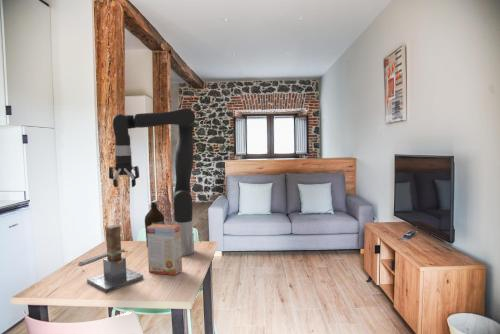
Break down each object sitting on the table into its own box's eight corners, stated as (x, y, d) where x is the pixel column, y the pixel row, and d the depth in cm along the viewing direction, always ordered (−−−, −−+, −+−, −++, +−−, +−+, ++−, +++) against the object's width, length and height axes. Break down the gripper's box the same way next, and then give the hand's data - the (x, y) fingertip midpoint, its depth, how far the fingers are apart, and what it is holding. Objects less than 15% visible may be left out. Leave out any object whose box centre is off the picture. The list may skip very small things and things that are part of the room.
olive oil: (142, 245, 176) (140, 202, 174) (160, 241, 183) (158, 200, 181) (150, 250, 168) (148, 204, 166) (168, 245, 175) (166, 202, 174)
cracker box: (182, 270, 139) (181, 224, 138) (175, 276, 133) (173, 228, 132) (156, 267, 144) (154, 223, 142) (148, 272, 138) (146, 226, 136)
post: (117, 263, 132) (115, 224, 131) (122, 266, 130) (120, 226, 129) (107, 266, 129) (105, 226, 128) (112, 269, 127) (110, 228, 126)
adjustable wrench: (80, 267, 147) (80, 263, 147) (73, 264, 151) (72, 261, 150) (125, 251, 168) (125, 248, 168) (118, 249, 172) (118, 246, 172)
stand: (123, 269, 141) (122, 249, 141) (143, 278, 131) (142, 256, 131) (87, 282, 129) (85, 260, 128) (106, 293, 119) (104, 268, 118)
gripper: (105, 155, 151) (107, 188, 152) (135, 154, 151) (136, 187, 152) (112, 154, 158) (113, 186, 159) (140, 154, 158) (141, 185, 159)
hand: (124, 187), depth 155 cm, fingers open, 8 cm apart
